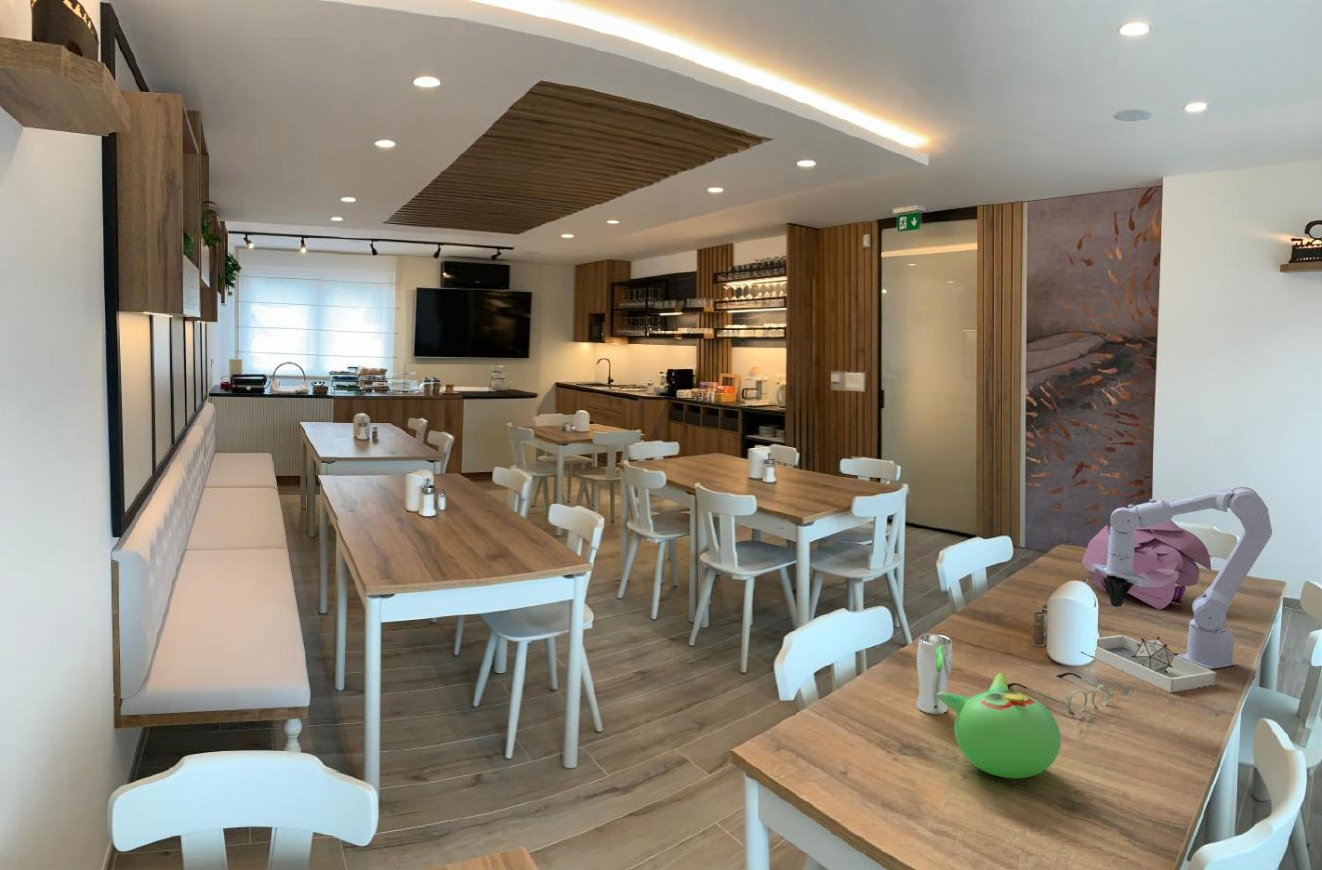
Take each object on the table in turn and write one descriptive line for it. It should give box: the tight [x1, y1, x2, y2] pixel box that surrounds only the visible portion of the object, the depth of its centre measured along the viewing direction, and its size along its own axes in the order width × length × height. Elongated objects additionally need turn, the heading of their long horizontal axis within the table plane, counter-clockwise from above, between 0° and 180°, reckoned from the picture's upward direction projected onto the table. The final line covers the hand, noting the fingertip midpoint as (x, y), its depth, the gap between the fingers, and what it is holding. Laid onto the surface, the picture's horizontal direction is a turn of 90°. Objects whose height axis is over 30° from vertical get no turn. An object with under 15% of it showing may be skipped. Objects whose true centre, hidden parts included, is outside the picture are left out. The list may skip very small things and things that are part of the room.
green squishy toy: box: [936, 672, 1062, 779], centre depth 133 cm, size 18×17×15 cm
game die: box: [1131, 636, 1179, 673], centre depth 176 cm, size 9×8×10 cm
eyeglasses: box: [1007, 672, 1115, 714], centre depth 163 cm, size 17×15×5 cm
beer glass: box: [915, 633, 953, 715], centre depth 155 cm, size 7×7×15 cm
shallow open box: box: [1094, 634, 1217, 693], centre depth 179 cm, size 14×24×3 cm, turn 18°
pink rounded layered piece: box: [1081, 519, 1212, 610], centre depth 234 cm, size 35×24×28 cm
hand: (1116, 605), depth 193 cm, fingers closed
